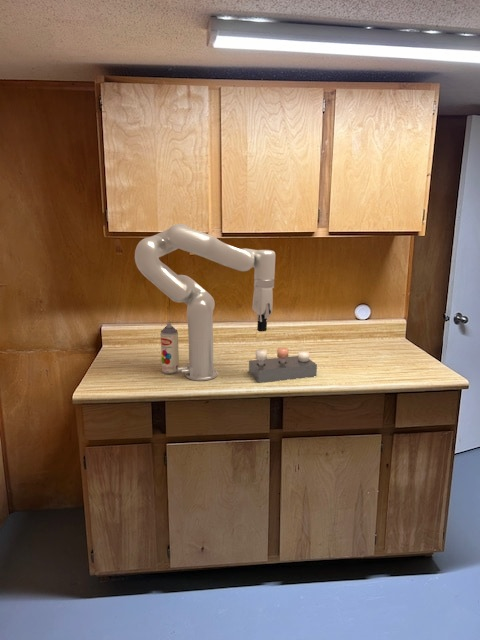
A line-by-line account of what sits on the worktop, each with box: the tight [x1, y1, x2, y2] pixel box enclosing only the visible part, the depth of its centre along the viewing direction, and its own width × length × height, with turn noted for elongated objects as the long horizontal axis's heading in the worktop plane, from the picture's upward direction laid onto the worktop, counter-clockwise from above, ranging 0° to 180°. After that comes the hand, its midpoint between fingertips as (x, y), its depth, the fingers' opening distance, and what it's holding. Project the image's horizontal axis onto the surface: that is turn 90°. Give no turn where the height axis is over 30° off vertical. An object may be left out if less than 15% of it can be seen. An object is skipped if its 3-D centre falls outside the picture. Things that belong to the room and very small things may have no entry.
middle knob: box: [276, 347, 289, 364], centre depth 182 cm, size 4×4×8 cm
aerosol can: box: [160, 322, 180, 375], centre depth 184 cm, size 7×7×20 cm
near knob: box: [254, 349, 268, 366], centre depth 180 cm, size 4×4×8 cm
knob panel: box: [248, 355, 318, 384], centre depth 183 cm, size 24×12×5 cm, turn 107°
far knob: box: [297, 350, 310, 362], centre depth 185 cm, size 4×4×8 cm
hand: (261, 330), depth 177 cm, fingers closed
